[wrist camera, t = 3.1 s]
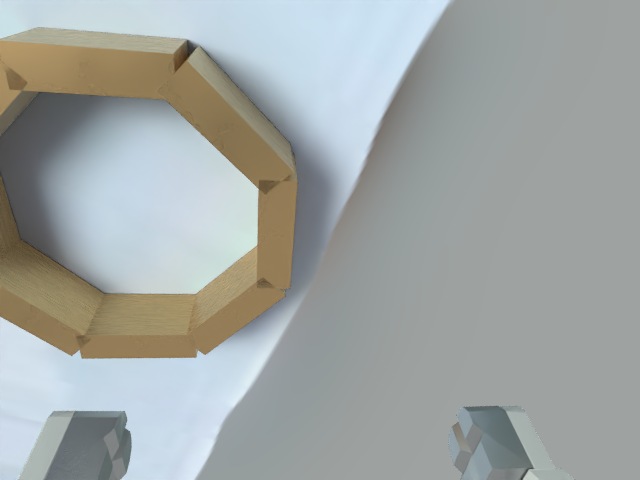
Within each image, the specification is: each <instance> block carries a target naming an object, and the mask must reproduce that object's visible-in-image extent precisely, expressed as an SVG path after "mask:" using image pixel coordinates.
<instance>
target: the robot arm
mask: <svg viewBox="0 0 640 480" xmlns="http://www.w3.org/2000/svg"><path fill="white" fill-rule="evenodd" d="M457 418H458V421H459V422H457V423H456V424H455V425H453V426H452V427H451V430H450V433H449V450H450V455H451V458H452V461H453V464H454V465H455V466H456V467H457V468H458V469H459V470H460V471H461V472H462V473H463V474H462V477H461V480H575V479H573V478H572V477H571V476H570V475H569V474H567V473H566V472H565V471H564V470H563V469H561V468H555V466H554V464H553V463H552V461H551V459H550V457H549V455H548V453H547V452H546V450H545V448H544V446H543V444H542V442H541V441H540V439H539V437H538V435H537V433H536V431H535V429H534V428H533V426H532V424H531V422H530V420H529V419H528V417H527V415H526V413H525V411H524V410H523V409H522V408H521V407H519V406H502V407H499V406H480V407H479V406H478V407H462V408H461V409H459V411H458V413H457ZM126 422H127V417H126V414H125V411H53V413H52V414H51V415H50V416H49V417H48V418H47V420H46V422H45V424H44V426H43V428H42V430H41V432H40V434H39V436H38V438H37V441H36V443H35V445H34V447H33V449H32V451H31V453H30V455H29V457H28V459H27V461H26V463H25V465H24V467H23V469H22V471H21V473H20V476H19V478H18V480H120V479H121V478H122V477H123V476H124V475H125V474H126V472H127V468H128V465H129V461H130V454H131V434H130V431H128V430H127V429H125V426H126Z"/></svg>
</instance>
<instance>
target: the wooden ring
mask: <svg viewBox="0 0 640 480" xmlns="http://www.w3.org/2000/svg"><path fill="white" fill-rule="evenodd" d="M39 92H54V93H70V94H85V95H101V96H116V97H132V98H148V99H163V100H166V101H167V102H168V103H169V104H171V105H172V106H173V107H174V108H175V109H176V110H177V111H178V112H179V113H180V114H181V115H182V116H183V117H184V118H185V119H186V120H187V121H188V122H189V123H190V124H191V125H192V126H194V127H195V128H196V129H197V130H198V131H199V132H200V133H201V134H202V135H203V136H204V137H205V138H206V139H207V140H208V141H209V142H210V143H211V144H212V145H213V146H214V147H216V148H217V149H218V150H219V151H220V152H221V153H222V154H223V155H224V156H225V157H226V158H227V159H228V160H229V161H230V162H231V163H232V164H233V165H234V166H235V167H236V168H237V169H239V170H240V171H241V172H242V173H243V174H244V175H245V176H246V177H247V178H248V179H249V180H250V181H251V182H252V183H253V184H254V185H255V186H256V187H257V188H258V189H259V197H258V245H257V246H256V247H255V248H254V249H252V250H251V251H250V252H249V253H247V254H246V255H245V256H243V257H242V258H241V259H240V260H238V261H237V262H236V263H235V264H233V265H232V266H231V267H230V268H228V269H227V270H226V271H225V272H223V273H222V274H221V275H220V276H218V277H217V278H216V279H215V280H213V281H212V282H211V283H209V284H208V285H207V286H206V287H204V288H203V289H202V290H201V291H199V292H198V293H197V294H196V295H178V294H104V293H103V292H101V291H99V290H98V289H96V288H95V287H93V286H92V285H90V284H89V283H87V282H86V281H84V280H82V279H81V278H79V277H78V276H76V275H75V274H73V273H72V272H70V271H69V270H67V269H66V268H64V267H62V266H61V265H59V264H58V263H56V262H55V261H53V260H52V259H50V258H49V257H47V256H46V255H44V254H42V253H41V252H39V251H38V250H36V249H35V248H33V247H32V246H30V245H29V244H27V243H26V242H24V241H22V240H21V239H20V236H19V232H18V229H17V226H16V223H15V219H14V216H13V213H12V210H11V207H10V203H9V200H8V197H7V194H6V190H5V187H4V184H3V181H2V178H1V174H0V317H2V318H4V319H6V320H8V321H9V322H11V323H13V324H15V325H17V326H18V327H20V328H22V329H24V330H26V331H27V332H29V333H31V334H33V335H35V336H36V337H38V338H40V339H42V340H44V341H46V342H47V343H49V344H51V345H53V346H55V347H56V348H58V349H60V350H62V351H64V352H65V353H67V354H69V355H71V356H72V355H73V354H75V353H76V352H77V351H78V350H80V353H81V357H82V359H84V358H195V357H197V352H198V350H199V351H200V352H202V353H203V354H205V355H206V354H207V353H208V352H210V351H211V350H213V349H214V348H215V347H217V346H218V345H219V344H221V343H222V342H224V341H225V340H226V339H228V338H229V337H230V336H232V335H233V334H234V333H236V332H237V331H239V330H240V329H241V328H243V327H244V326H245V325H247V324H248V323H249V322H251V321H252V320H254V319H255V318H256V317H258V316H259V315H260V314H262V313H263V312H264V311H266V310H267V309H269V308H270V307H271V306H273V305H274V304H275V303H277V302H278V301H280V300H281V299H282V298H284V297H285V296H286V293H285V289H290V283H291V269H292V254H293V240H294V226H295V212H296V198H297V184H298V180H297V173H296V165H295V157H294V153H292V152H291V144H290V143H289V142H288V141H287V139H286V138H285V137H284V136H283V135H282V134H281V133H280V132H279V131H278V130H277V129H276V128H275V127H274V125H273V124H272V123H271V122H270V121H269V120H268V119H267V118H266V117H265V116H264V115H263V114H262V113H261V112H260V110H259V109H258V108H257V107H256V106H255V105H254V104H253V103H252V102H251V101H250V100H249V99H248V98H247V97H246V95H245V94H244V93H243V92H242V91H241V90H240V89H239V88H238V87H237V86H236V85H235V84H234V83H233V81H232V80H231V79H230V78H229V77H228V76H227V75H226V74H225V73H224V72H223V71H222V70H221V69H220V68H219V66H218V65H217V64H216V63H215V62H214V61H213V60H212V59H211V58H210V57H209V56H208V55H207V54H206V53H205V51H204V50H203V49H202V48H201V47H200V46H198V47H197V48H196V49H195V50H194V51H193V52H192V53H191V54H190V55H189V56H188V45H187V39H176V38H163V37H151V36H139V35H127V34H115V33H102V32H90V31H78V30H66V29H54V28H41V27H37V28H34V29H31V30H28V31H24V32H21V33H18V34H15V35H11V36H8V37H5V38H2V39H0V136H1V135H2V134H3V133H4V132H5V131H6V130H7V128H8V127H9V126H10V125H11V124H12V123H13V122H14V120H15V119H16V118H17V117H18V116H19V115H20V114H21V112H22V111H23V110H24V109H25V108H26V107H27V106H28V104H29V103H30V102H31V101H32V100H33V99H34V98H35V96H36V95H37V94H38V93H39Z"/></svg>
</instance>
